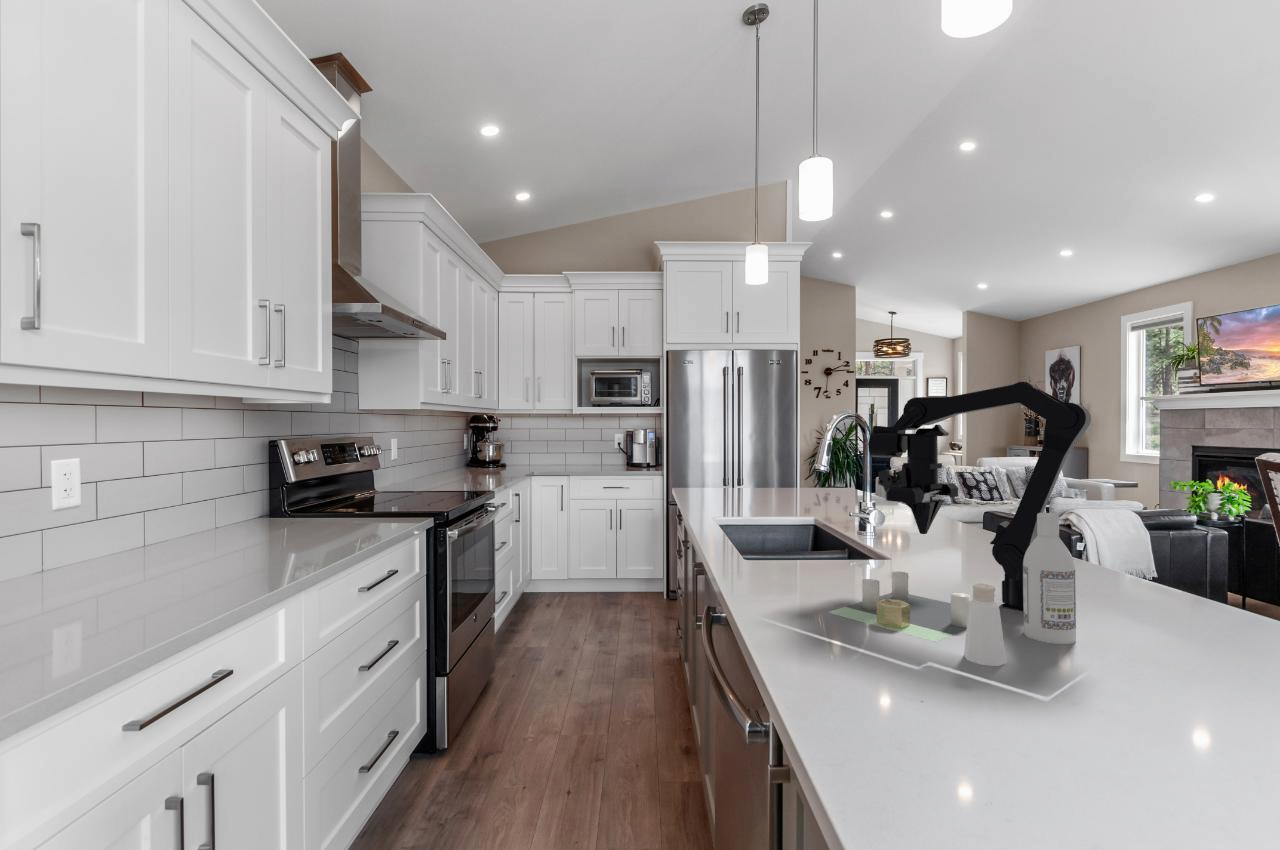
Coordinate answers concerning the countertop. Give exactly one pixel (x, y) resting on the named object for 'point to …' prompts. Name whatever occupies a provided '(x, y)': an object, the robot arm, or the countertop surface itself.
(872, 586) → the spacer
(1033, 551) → the bath foam
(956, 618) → the cylinder
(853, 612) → the mat
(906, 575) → the cylinder
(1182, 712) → the countertop surface
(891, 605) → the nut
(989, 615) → the pepper shaker
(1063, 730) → the countertop surface
